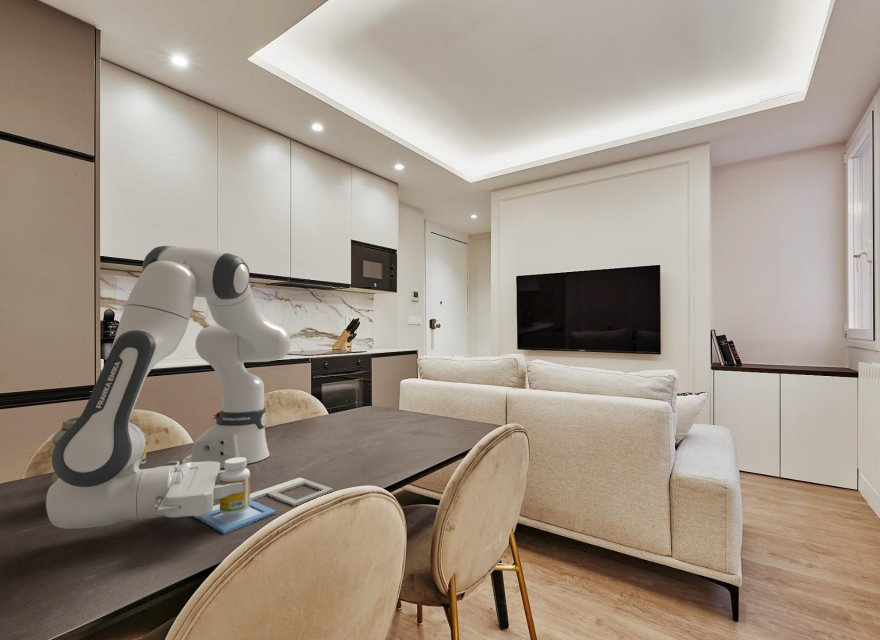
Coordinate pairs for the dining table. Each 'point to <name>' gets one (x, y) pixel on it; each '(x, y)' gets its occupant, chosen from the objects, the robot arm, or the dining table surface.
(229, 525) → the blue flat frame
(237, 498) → the supplement bottle
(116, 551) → the dining table surface
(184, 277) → the robot arm
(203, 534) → the dining table surface
